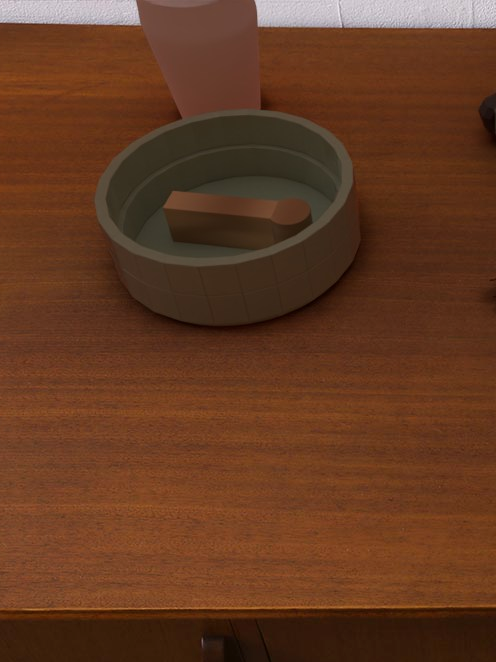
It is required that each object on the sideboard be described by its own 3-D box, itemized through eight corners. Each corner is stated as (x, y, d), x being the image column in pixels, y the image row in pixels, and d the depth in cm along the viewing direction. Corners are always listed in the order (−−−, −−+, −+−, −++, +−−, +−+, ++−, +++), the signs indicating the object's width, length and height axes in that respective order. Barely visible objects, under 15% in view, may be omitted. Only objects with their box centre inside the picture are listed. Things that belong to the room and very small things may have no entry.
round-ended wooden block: (170, 246, 73) (159, 212, 71) (184, 220, 75) (175, 186, 73) (309, 260, 72) (303, 226, 70) (321, 233, 74) (315, 199, 72)
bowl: (77, 316, 69) (49, 250, 65) (171, 163, 81) (153, 99, 77) (326, 343, 68) (314, 278, 63) (384, 184, 80) (378, 120, 75)
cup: (289, 89, 89) (266, -42, 80) (253, 148, 83) (225, 14, 74) (192, 78, 90) (159, -52, 81) (150, 136, 84) (109, 2, 75)
